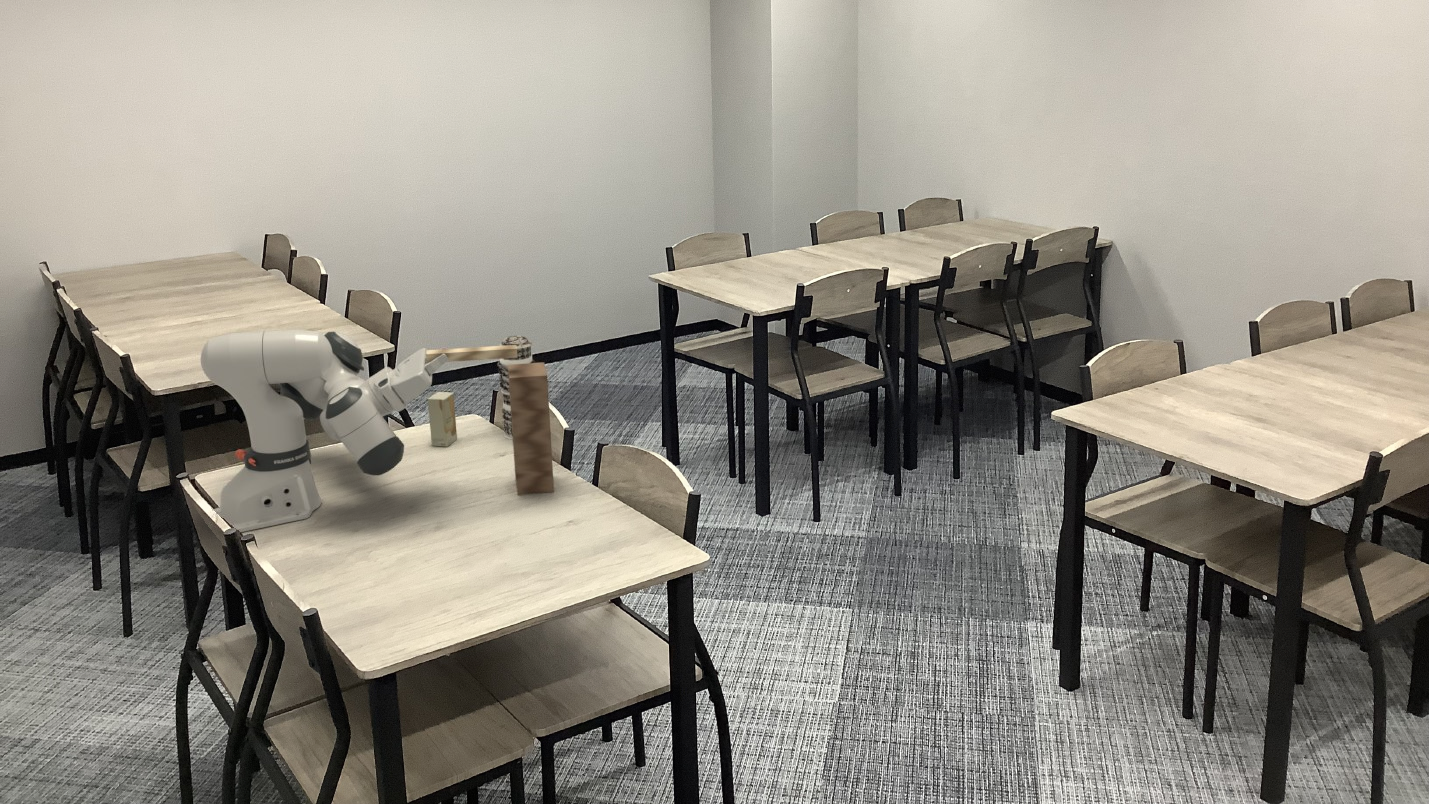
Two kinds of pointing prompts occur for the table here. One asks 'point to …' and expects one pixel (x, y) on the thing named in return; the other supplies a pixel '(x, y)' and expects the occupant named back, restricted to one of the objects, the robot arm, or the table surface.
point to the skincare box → (442, 419)
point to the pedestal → (531, 428)
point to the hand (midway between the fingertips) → (446, 353)
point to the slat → (474, 353)
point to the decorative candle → (523, 358)
